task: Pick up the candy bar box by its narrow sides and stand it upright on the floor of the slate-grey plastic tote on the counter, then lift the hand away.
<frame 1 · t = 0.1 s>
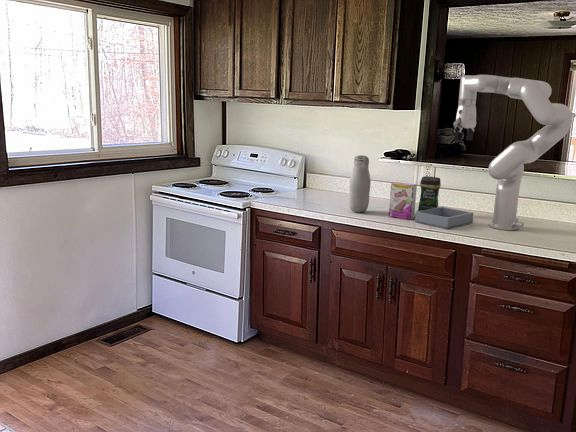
hand: (463, 140, 257), 37 cm above the worktop, tool pointing down, fingers open, 9 cm apart
grey bottle: (358, 212, 273), on the worktop
tote: (443, 222, 253), on the worktop
candy bar box: (401, 218, 262), on the worktop
coffee jar: (427, 214, 272), on the worktop
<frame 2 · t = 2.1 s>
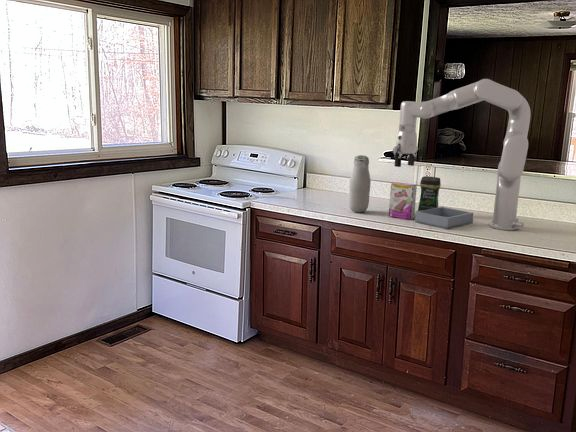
hand: (404, 166, 256), 25 cm above the worktop, tool pointing down, fingers open, 9 cm apart
nothing on the worktop moved.
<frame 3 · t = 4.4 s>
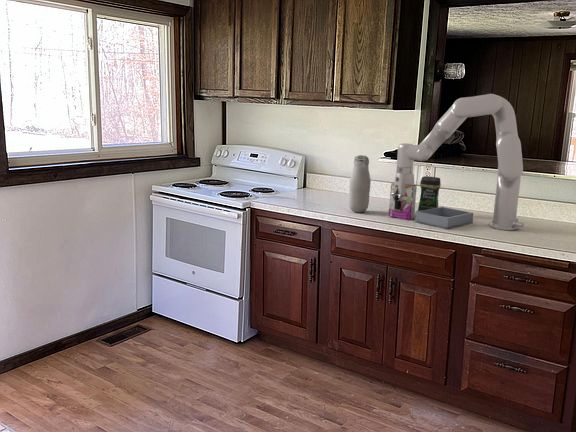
hand: (402, 207, 261), 5 cm above the worktop, tool pointing down, fingers closed on candy bar box, 6 cm apart
candy bar box: (401, 218, 262), on the worktop, touching gripper
everything else where it was.
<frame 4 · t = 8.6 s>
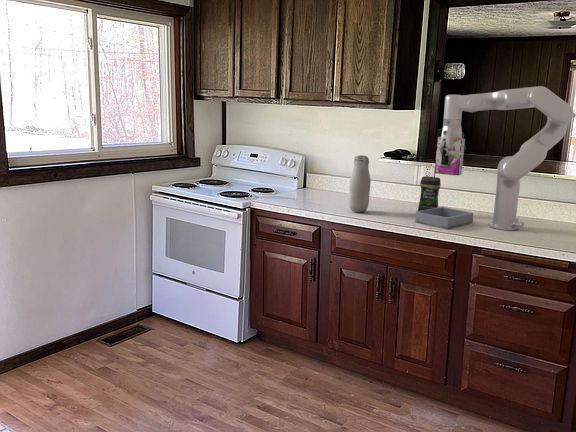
hand: (449, 163, 248), 27 cm above the worktop, tool pointing down, fingers closed on candy bar box, 6 cm apart
candy bar box: (448, 174, 249), point 22 cm above the worktop, touching gripper
everything else where it was.
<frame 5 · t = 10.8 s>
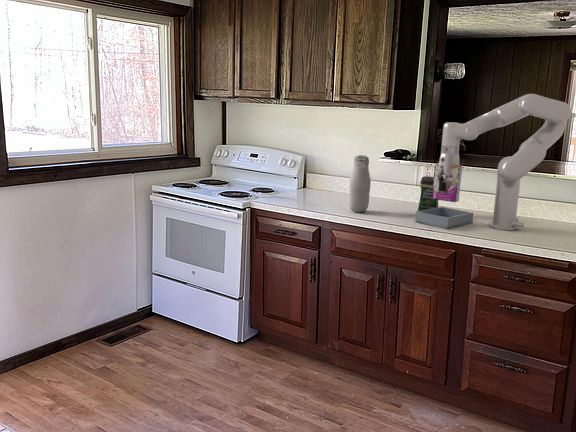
hand: (446, 189, 250), 15 cm above the worktop, tool pointing down, fingers closed on candy bar box, 6 cm apart
candy bar box: (445, 200, 251), point 10 cm above the worktop, touching gripper
everything else where it was.
when the fingers open (7 cm above the worktop, at t = 12.9 s): candy bar box drops 1 cm, resting on tote.
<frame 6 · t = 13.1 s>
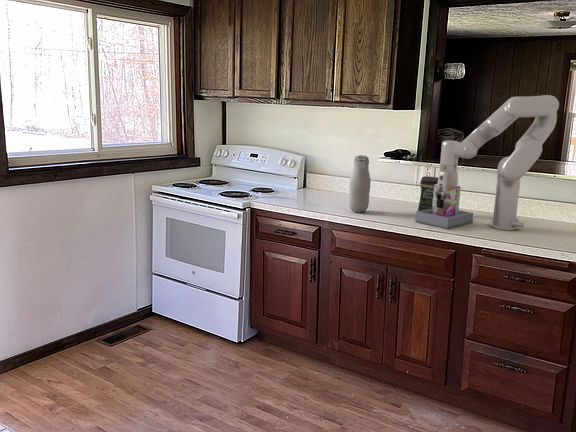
hand: (445, 206, 252), 8 cm above the worktop, tool pointing down, fingers open, 7 cm apart
candy bar box: (444, 221, 253), point 1 cm above the worktop, touching tote
everything else where it was.
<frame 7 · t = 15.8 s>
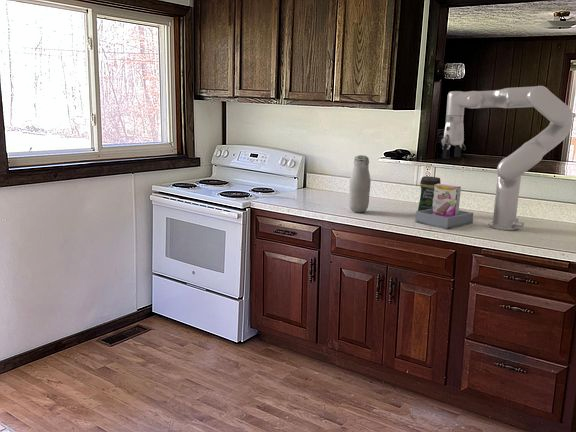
hand: (451, 157, 251), 30 cm above the worktop, tool pointing down, fingers open, 9 cm apart
nothing on the worktop moved.
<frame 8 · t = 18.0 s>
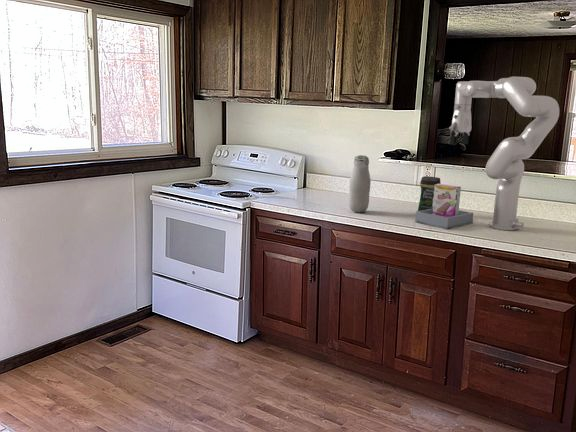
hand: (459, 144, 266), 34 cm above the worktop, tool pointing down, fingers open, 9 cm apart
nothing on the worktop moved.
at the end: candy bar box inside the target area on the tote (0.2 cm from its centre), point 0.8 cm above the tote's base; candy bar box tilted 0°; the gripper is holding nothing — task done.
